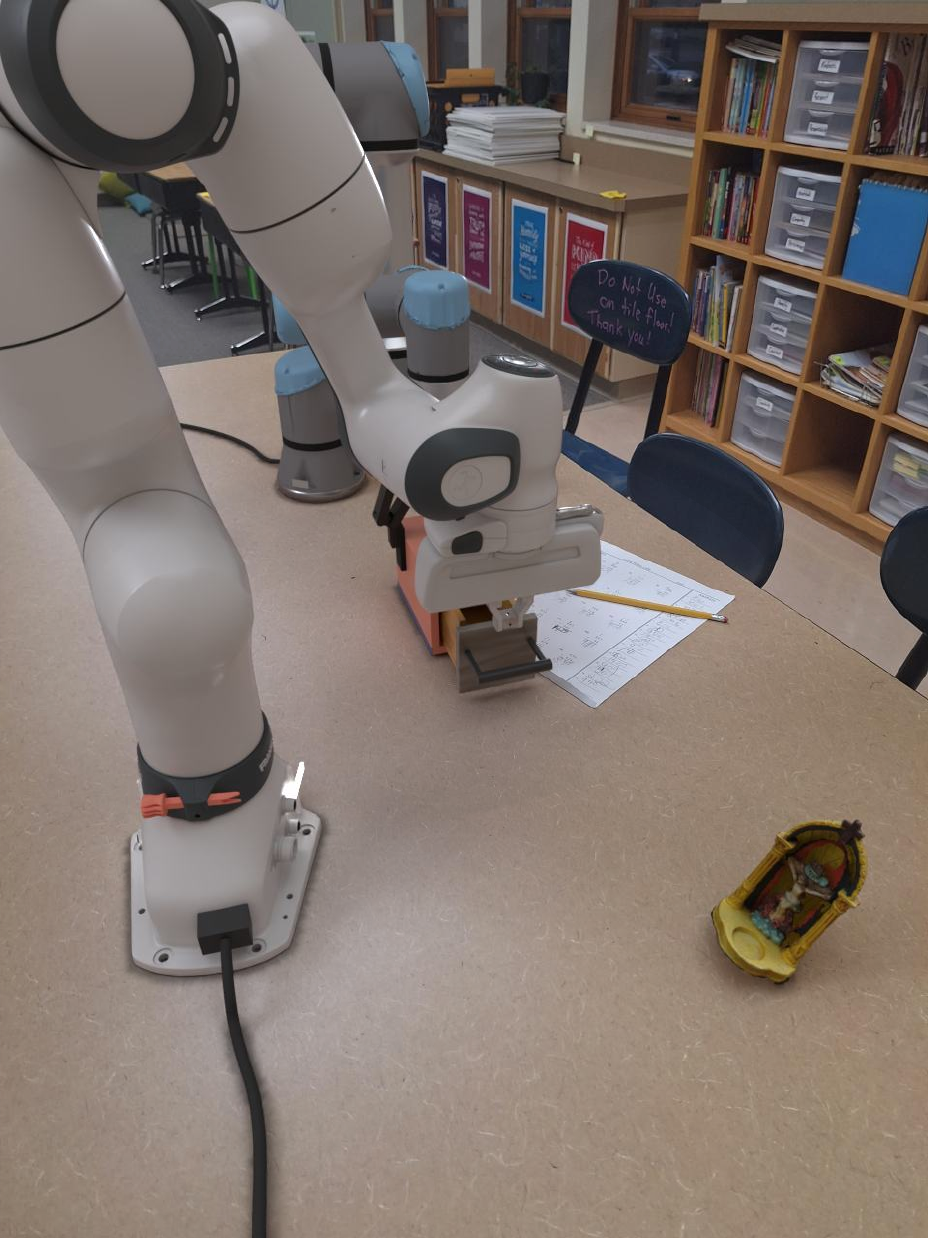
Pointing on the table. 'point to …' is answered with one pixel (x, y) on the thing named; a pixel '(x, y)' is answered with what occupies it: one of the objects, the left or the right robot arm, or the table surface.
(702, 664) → the table surface
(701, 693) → the table surface
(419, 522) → the cabinet
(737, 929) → the shrine
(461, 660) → the drawer
